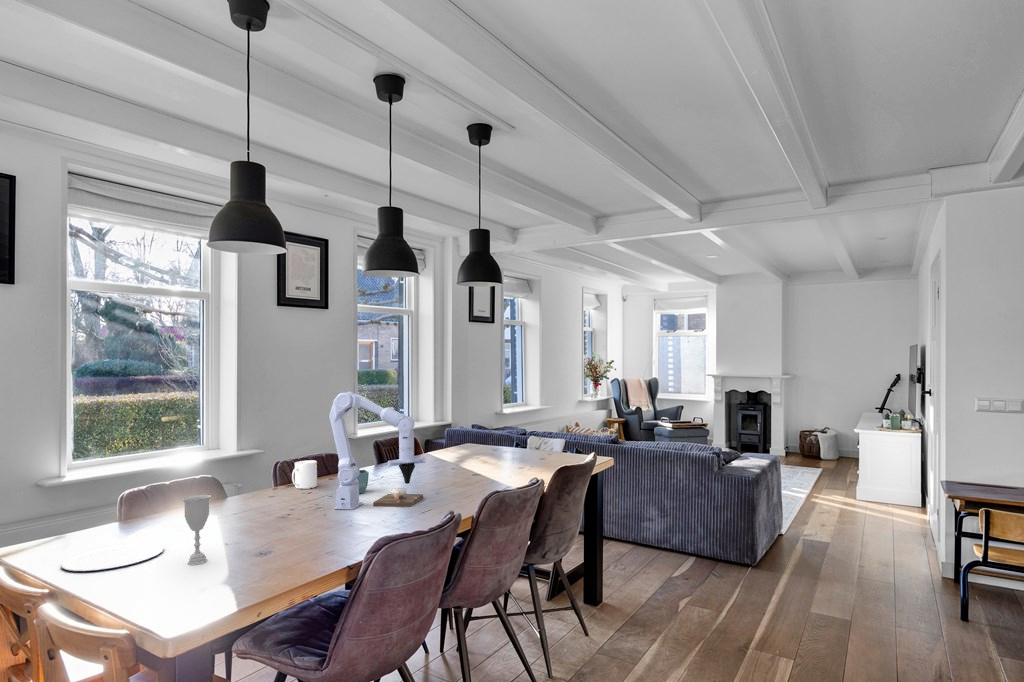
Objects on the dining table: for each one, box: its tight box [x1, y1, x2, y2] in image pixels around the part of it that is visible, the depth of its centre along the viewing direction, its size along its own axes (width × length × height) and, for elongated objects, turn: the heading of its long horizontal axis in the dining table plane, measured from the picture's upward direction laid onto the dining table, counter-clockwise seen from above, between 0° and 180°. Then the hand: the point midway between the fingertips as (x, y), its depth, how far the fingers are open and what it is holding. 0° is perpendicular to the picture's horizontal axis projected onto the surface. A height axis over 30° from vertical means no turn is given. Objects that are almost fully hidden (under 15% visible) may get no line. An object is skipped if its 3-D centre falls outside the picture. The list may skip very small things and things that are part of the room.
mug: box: [291, 459, 318, 489], centre depth 271 cm, size 10×12×12 cm
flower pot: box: [357, 469, 370, 494], centre depth 258 cm, size 9×9×9 cm
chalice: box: [182, 494, 212, 566], centre depth 170 cm, size 7×7×18 cm
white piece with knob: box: [390, 487, 407, 500], centre depth 234 cm, size 13×6×2 cm, turn 6°
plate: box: [60, 542, 165, 573], centre depth 175 cm, size 25×25×1 cm
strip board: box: [372, 493, 424, 508], centre depth 238 cm, size 15×15×3 cm
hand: (407, 483), depth 233 cm, fingers closed
